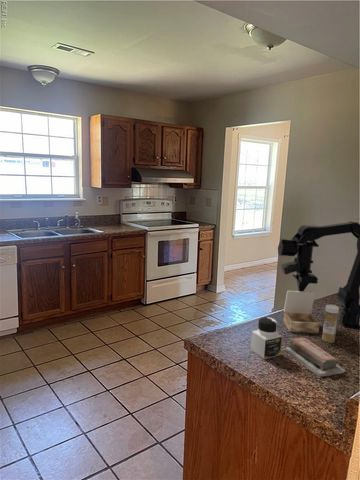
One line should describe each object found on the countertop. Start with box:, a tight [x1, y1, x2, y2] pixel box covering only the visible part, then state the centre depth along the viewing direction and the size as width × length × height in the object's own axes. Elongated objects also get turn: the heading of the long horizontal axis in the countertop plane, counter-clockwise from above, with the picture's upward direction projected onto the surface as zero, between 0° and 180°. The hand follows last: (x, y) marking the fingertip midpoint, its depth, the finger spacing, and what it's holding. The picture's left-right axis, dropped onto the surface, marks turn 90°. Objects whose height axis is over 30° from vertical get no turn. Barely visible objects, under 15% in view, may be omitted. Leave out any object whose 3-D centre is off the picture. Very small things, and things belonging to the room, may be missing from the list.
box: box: [283, 312, 320, 334], centre depth 139 cm, size 11×10×4 cm
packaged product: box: [284, 337, 346, 378], centre depth 113 cm, size 18×5×10 cm
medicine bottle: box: [250, 316, 283, 360], centre depth 116 cm, size 7×7×12 cm
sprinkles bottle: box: [321, 304, 340, 344], centre depth 127 cm, size 5×5×14 cm
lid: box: [283, 290, 316, 315], centre depth 142 cm, size 11×10×1 cm
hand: (300, 293), depth 141 cm, fingers closed
